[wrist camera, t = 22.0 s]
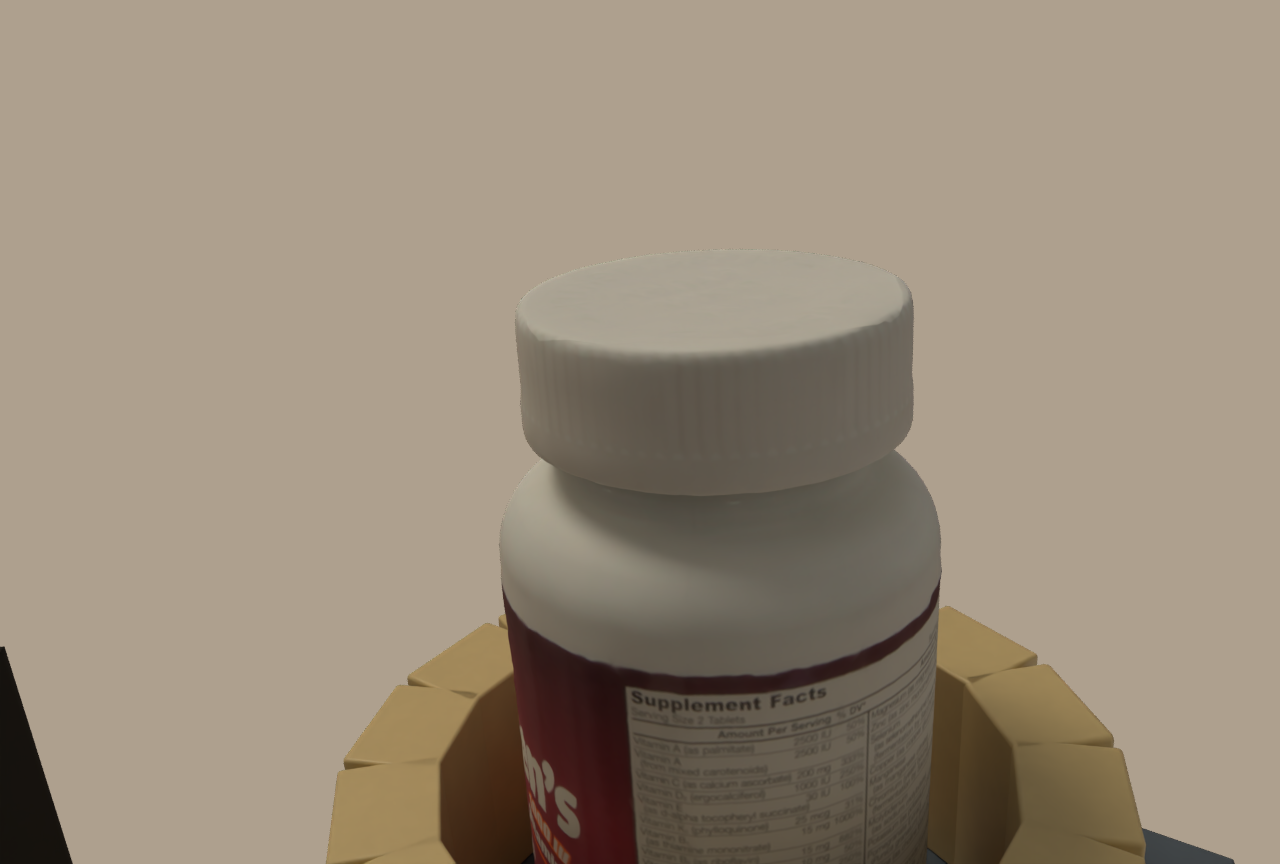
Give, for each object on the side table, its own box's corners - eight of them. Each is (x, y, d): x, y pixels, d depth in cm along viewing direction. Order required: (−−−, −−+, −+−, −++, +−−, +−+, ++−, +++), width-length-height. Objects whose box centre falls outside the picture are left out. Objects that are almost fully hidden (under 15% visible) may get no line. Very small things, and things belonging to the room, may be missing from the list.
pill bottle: (533, 852, 21) (461, 260, 17) (847, 799, 22) (853, 222, 18) (570, 1164, 16) (477, 395, 11) (990, 1077, 16) (1048, 329, 12)
